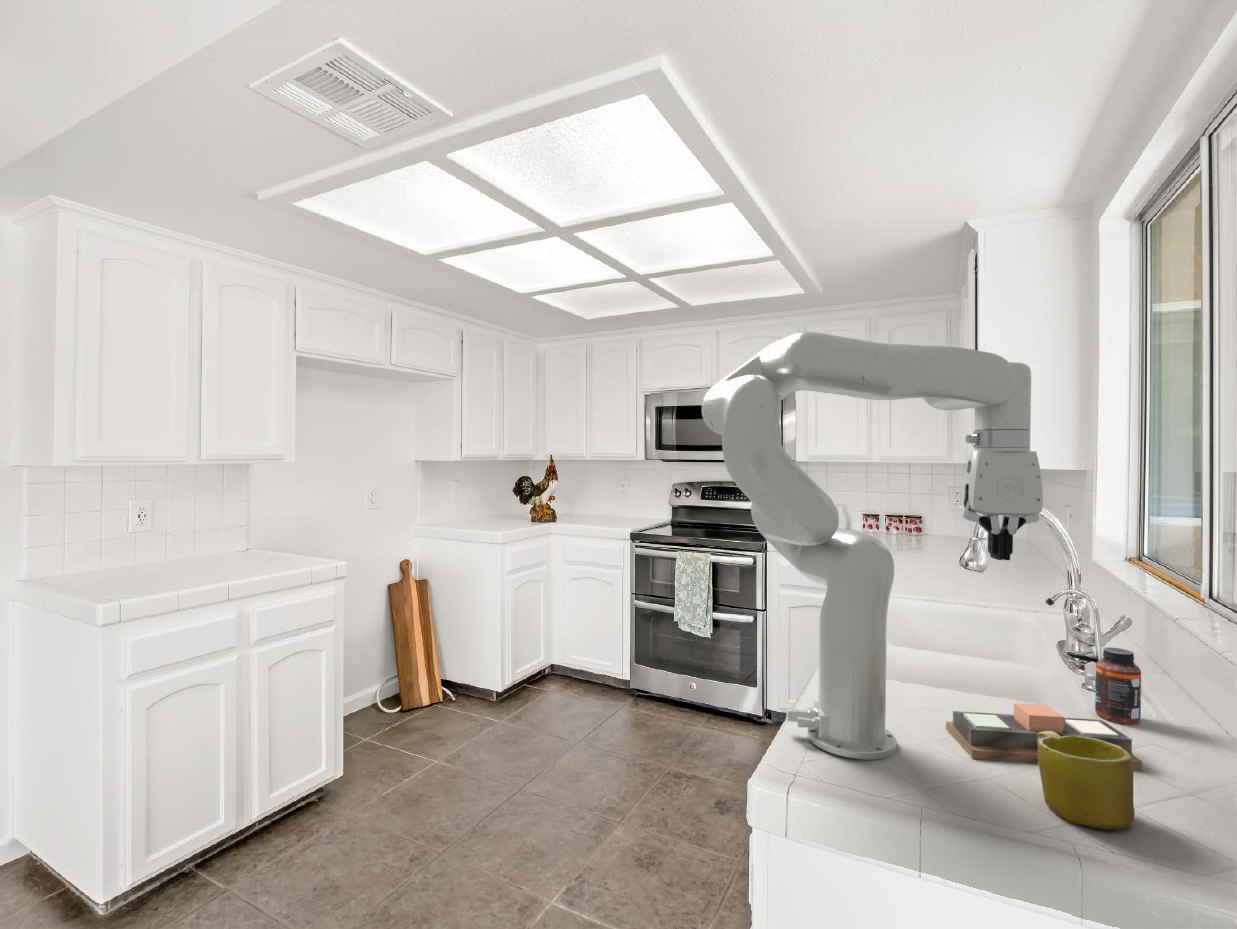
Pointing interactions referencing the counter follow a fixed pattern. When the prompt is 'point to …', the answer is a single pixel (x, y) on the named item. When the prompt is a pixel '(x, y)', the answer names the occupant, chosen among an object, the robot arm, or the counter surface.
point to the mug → (1086, 780)
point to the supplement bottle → (1118, 687)
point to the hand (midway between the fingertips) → (1000, 558)
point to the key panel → (1018, 739)
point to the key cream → (1090, 728)
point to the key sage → (985, 721)
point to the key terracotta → (1038, 718)
